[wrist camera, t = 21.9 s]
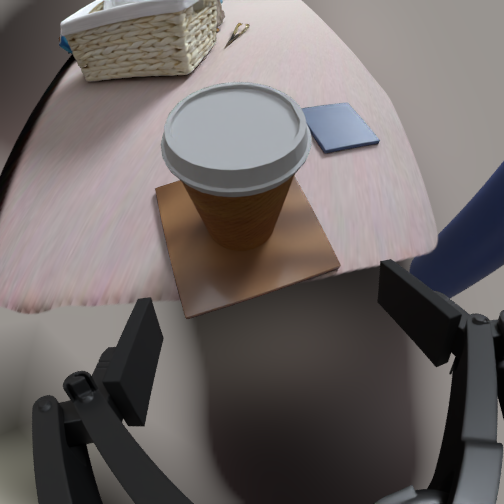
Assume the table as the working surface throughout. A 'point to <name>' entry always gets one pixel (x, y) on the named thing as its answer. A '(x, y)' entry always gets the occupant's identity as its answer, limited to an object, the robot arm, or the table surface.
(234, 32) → the yellow dark forked piece
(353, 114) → the blue mat
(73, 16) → the basket
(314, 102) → the table surface
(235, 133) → the disposable coffee cup
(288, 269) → the brown wood grain mat
